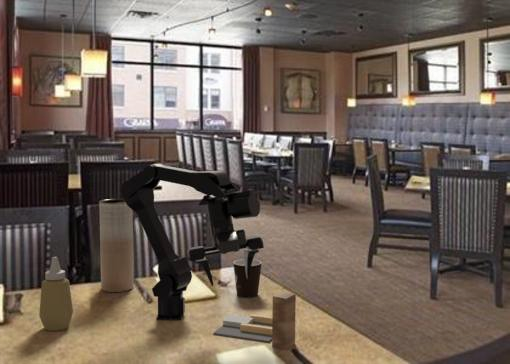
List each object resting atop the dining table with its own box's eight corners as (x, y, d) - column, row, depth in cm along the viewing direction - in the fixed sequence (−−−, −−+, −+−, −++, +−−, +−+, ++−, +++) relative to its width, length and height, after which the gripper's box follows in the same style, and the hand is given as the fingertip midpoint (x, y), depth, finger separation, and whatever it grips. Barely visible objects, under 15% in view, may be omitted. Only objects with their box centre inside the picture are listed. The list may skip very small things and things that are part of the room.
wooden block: (272, 346, 129) (272, 296, 127) (282, 340, 132) (282, 291, 131) (285, 350, 127) (285, 298, 126) (294, 343, 130) (295, 294, 129)
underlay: (213, 334, 136) (213, 326, 136) (232, 318, 148) (233, 311, 147) (269, 342, 131) (269, 334, 131) (285, 325, 142) (285, 318, 142)
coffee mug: (258, 299, 164) (258, 266, 163) (230, 297, 166) (230, 264, 165) (265, 288, 175) (265, 257, 174) (239, 287, 177) (239, 256, 176)
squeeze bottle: (80, 324, 143) (78, 255, 141) (59, 335, 135) (57, 262, 133) (54, 320, 145) (52, 252, 144) (32, 331, 138) (30, 259, 136)
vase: (95, 292, 171) (94, 202, 168) (108, 283, 181) (107, 198, 178) (126, 293, 170) (125, 203, 167) (138, 284, 179) (136, 199, 177)
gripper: (187, 229, 130) (197, 295, 130) (263, 216, 134) (273, 279, 134) (182, 226, 141) (192, 287, 141) (254, 214, 145) (263, 273, 145)
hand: (230, 282), depth 140 cm, fingers open, 9 cm apart
